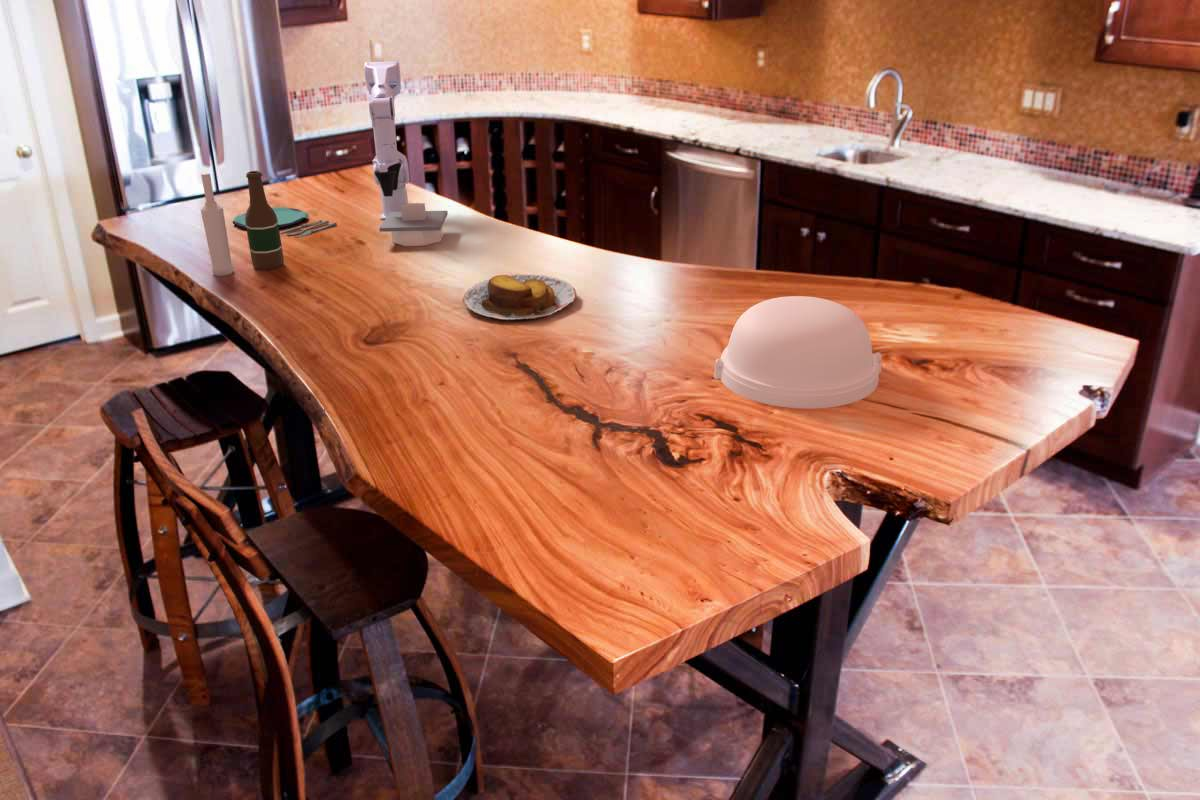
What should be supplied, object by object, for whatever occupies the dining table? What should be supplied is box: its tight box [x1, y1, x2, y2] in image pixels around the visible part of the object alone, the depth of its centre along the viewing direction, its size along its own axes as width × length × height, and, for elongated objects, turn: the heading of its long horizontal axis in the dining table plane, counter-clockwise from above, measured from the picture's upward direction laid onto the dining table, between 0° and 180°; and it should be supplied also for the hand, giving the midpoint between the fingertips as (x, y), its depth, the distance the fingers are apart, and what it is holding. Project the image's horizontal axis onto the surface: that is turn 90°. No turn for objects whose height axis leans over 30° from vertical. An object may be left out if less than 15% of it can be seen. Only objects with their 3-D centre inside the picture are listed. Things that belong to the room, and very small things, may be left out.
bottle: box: [200, 172, 234, 277], centre depth 259 cm, size 5×5×25 cm
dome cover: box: [713, 295, 882, 409], centre depth 198 cm, size 32×30×14 cm
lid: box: [379, 202, 449, 233], centre depth 285 cm, size 16×16×5 cm
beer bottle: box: [245, 170, 285, 271], centre depth 264 cm, size 8×8×24 cm
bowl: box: [390, 227, 444, 247], centre depth 287 cm, size 13×13×4 cm
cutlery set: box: [232, 206, 338, 239], centre depth 303 cm, size 20×30×2 cm, turn 53°
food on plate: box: [462, 273, 577, 321], centre depth 238 cm, size 25×25×7 cm
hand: (390, 193), depth 292 cm, fingers open, 7 cm apart
